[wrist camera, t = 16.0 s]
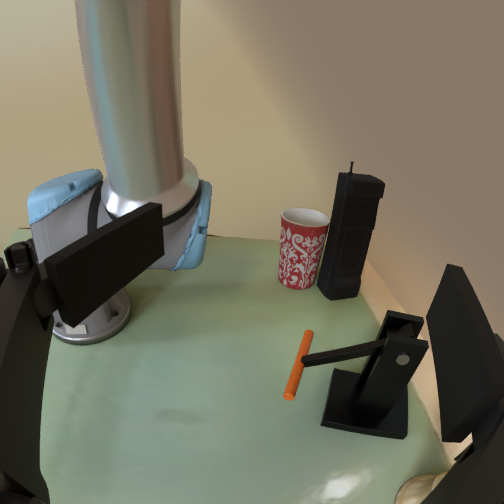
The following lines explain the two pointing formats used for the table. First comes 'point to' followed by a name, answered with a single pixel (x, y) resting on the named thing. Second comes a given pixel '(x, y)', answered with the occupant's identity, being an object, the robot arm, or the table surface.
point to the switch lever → (335, 355)
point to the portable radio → (349, 234)
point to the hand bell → (418, 488)
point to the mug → (301, 246)
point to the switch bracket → (378, 385)
